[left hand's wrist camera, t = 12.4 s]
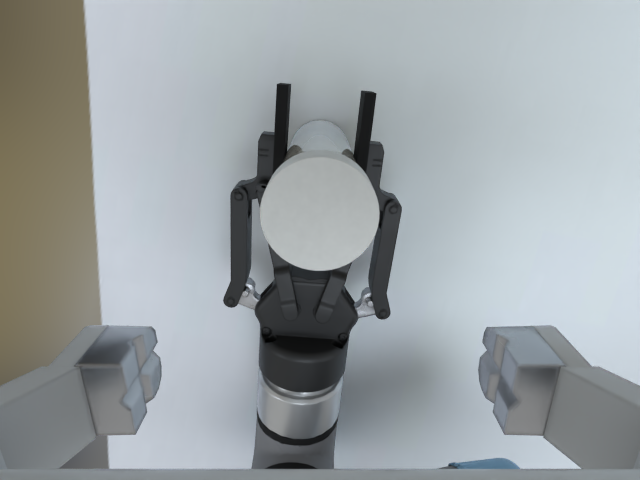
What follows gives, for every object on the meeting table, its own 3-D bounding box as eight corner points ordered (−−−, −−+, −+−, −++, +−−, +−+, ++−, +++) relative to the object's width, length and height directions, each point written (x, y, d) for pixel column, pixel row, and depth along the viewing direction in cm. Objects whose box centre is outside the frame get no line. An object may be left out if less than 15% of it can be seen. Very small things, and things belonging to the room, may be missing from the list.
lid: (287, 268, 23) (285, 285, 21) (247, 171, 21) (240, 180, 20) (387, 236, 23) (393, 250, 21) (355, 133, 21) (358, 139, 19)
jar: (302, 186, 39) (288, 274, 22) (282, 131, 37) (250, 182, 20) (356, 167, 38) (385, 244, 21) (338, 111, 36) (353, 145, 19)
